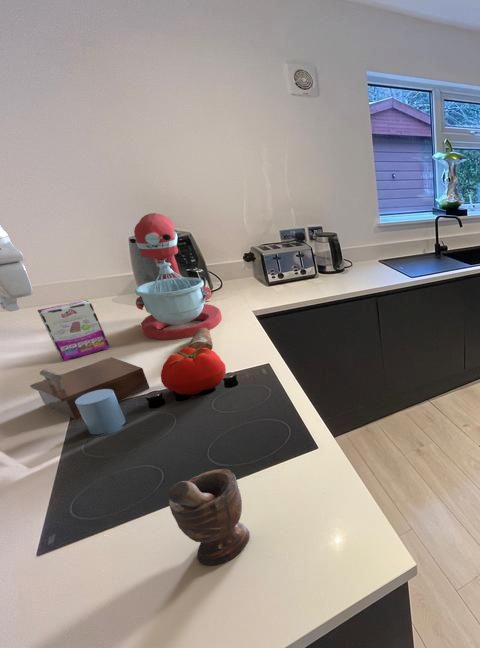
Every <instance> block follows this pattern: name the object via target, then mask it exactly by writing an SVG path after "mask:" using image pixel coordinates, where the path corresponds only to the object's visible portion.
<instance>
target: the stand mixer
mask: <svg viewBox="0 0 480 648" xmlns="http://www.w3.org/2000/svg"><path fill="white" fill-rule="evenodd" d="M175 227H176V226H175V224H174V223H173V220H171V219H170V218H169V217H168V216H166V215H164V214H162V213H161V214H160V213H157V212H151V213H148V214H145V215H144V216H142V217H141V218H140V219H139V221H138V222H137V224H135V226H134V230H133V233H134V237H135V238H130V239H129V242H130V243H131V244H136V246H137V248H138V250H139V252H140V255H141V256H142V257H143V258H148V259H150V260H156V261H157V264H156V267H158V269H159V271H158V275H157V277H156V279H155V280H154V281H150V282H146V283H144V284H141V285H139V286H137V287H136V288H134V289H135V290H134V293H135V294H136V295H137V296H138V297H137V298H136V300H135V306H136V308H137V309H138V310H141V311H143V310H144V308H145V311H146V313H148V314H149V315H148V316H146V317H145V318H144V319H143V320H142V321H141V322H140V326H141V330H142V333H143V335H144V336H145V337H147V338H150V339H153V340H162V341H163V340H164V341H165V340H178V339H185V338H189V337H190V338H191V337H193V336H194V334H195V333H196V331H197V330H198V329H200V328H207V329H208V330H209V331H210V330H212V329H213V328H215V327H217V326H218V325H219V324H220V323H221V321H223V320H222V319H223V317H222V312H221V309H220V308H218V307H217V306H215V305H211V304H207V303H206V301H208V300H209V299H211V298H212V290H211V288H209V287H208V286H205V283H204V280H203V279H202V278H200V277H199V278H198V277H188V276H187V277H184V276H183V275H182V274H181V272H180V269H179V266H178V263H177V260H176V256H175V255H178V253H179V249H178V233H177V231H175ZM192 321H202V322H199V323H197V324H194V325H189V326H186V327H185V326H184V327H180V328H173V329H164V328H166V327H169V326H171V325H184V324H187V323H190V322H192Z"/></svg>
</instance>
